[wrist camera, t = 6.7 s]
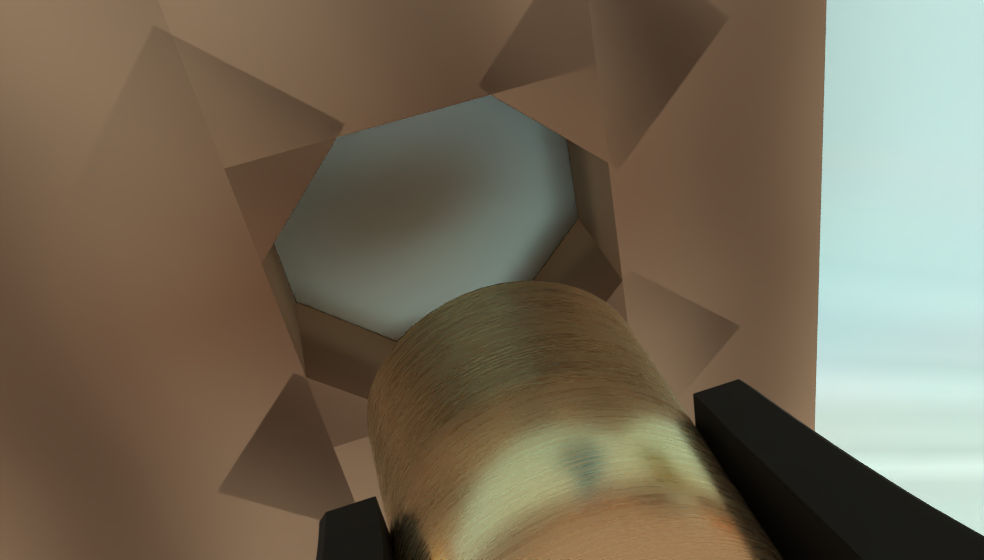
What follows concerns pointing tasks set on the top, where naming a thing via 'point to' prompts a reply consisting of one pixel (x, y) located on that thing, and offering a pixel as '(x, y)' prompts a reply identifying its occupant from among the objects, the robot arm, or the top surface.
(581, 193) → the jig plate
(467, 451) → the cylinder
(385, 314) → the top surface
